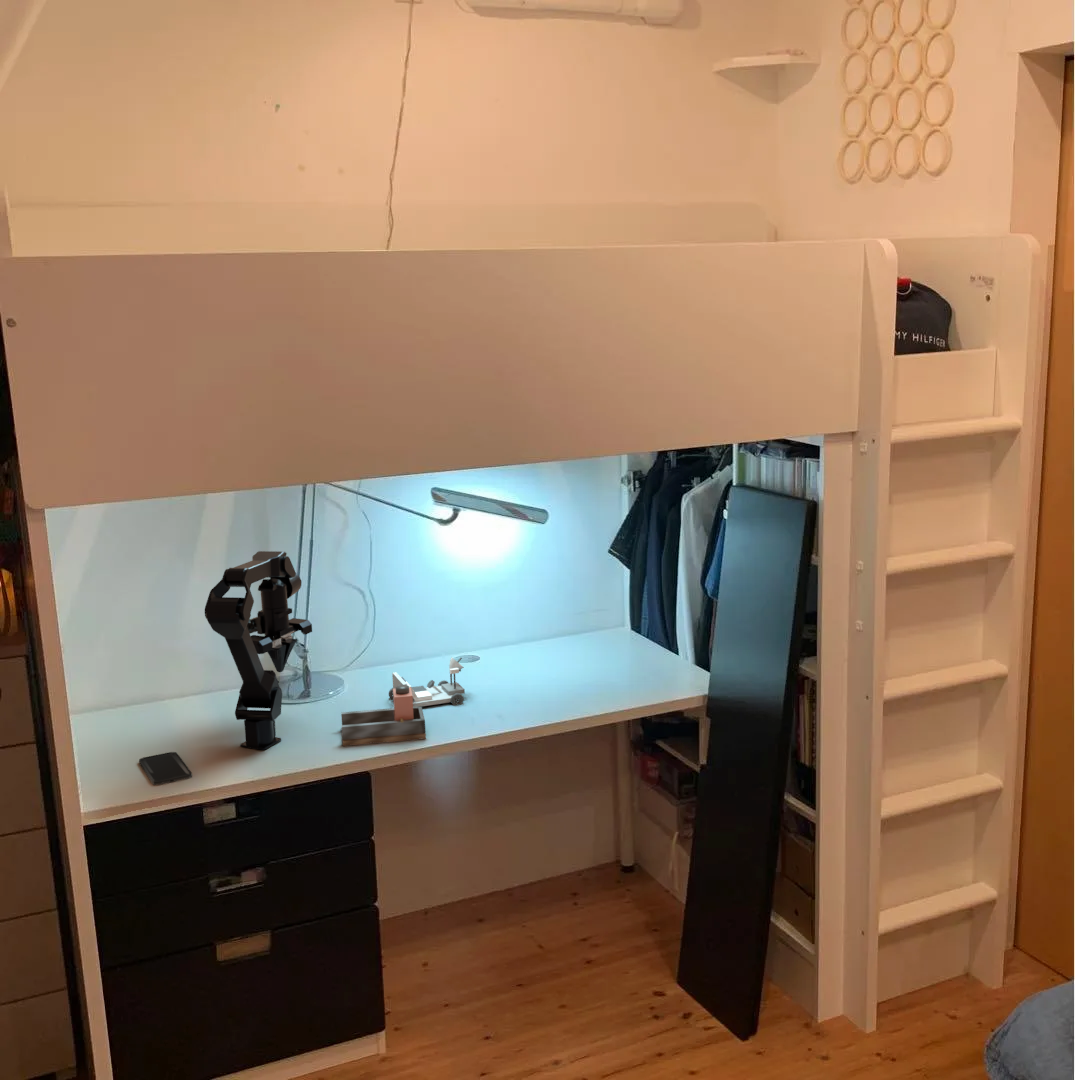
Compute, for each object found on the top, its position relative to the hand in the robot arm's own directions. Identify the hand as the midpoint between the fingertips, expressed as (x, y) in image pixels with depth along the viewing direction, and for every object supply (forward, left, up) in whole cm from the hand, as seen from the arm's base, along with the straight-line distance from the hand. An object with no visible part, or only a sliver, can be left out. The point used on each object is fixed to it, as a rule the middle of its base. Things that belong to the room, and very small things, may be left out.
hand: (280, 671), depth 263 cm
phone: (-32, +6, -13) cm, 35 cm away
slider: (+4, -29, -11) cm, 32 cm away
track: (+2, -26, -12) cm, 28 cm away
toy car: (+25, -25, -13) cm, 38 cm away
